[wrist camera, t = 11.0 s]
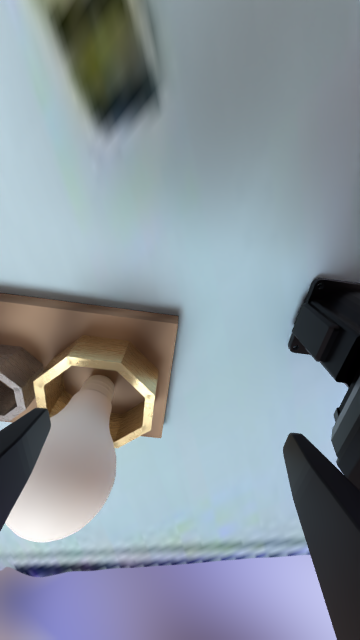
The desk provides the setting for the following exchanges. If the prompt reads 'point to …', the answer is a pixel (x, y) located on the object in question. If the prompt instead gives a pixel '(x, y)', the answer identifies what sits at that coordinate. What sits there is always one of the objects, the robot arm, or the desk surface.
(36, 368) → the grey small collar
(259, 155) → the desk surface
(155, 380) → the brass collar
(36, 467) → the lightbulb
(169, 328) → the walnut board
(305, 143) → the desk surface
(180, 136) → the desk surface
